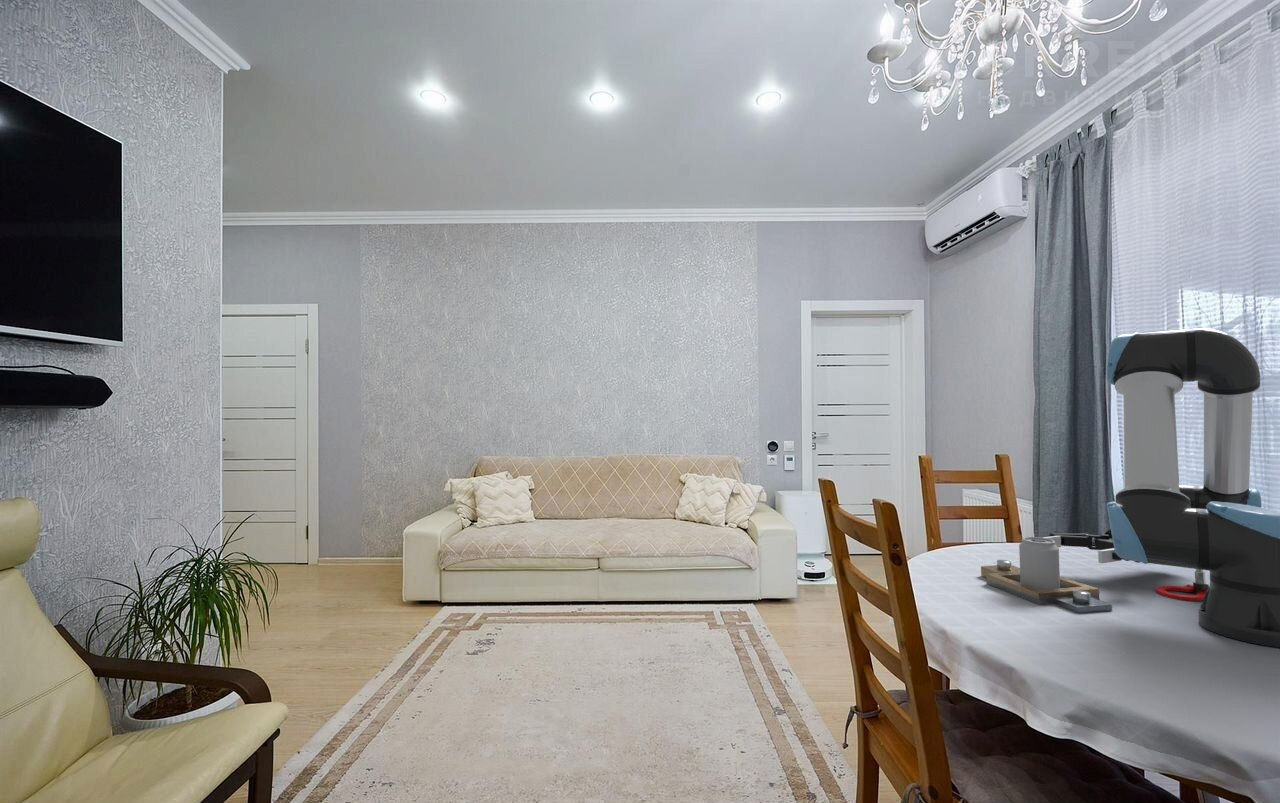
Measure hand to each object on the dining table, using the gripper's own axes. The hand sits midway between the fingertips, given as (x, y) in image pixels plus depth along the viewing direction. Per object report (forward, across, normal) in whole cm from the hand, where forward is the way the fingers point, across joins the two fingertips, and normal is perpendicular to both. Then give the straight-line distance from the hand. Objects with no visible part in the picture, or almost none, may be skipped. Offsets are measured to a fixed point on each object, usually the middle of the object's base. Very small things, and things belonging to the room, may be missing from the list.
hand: (1068, 550), depth 135 cm
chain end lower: (+10, -3, -8) cm, 14 cm away
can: (+10, 0, -9) cm, 13 cm away
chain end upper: (+9, +3, -8) cm, 13 cm away
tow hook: (-16, -13, -9) cm, 23 cm away
